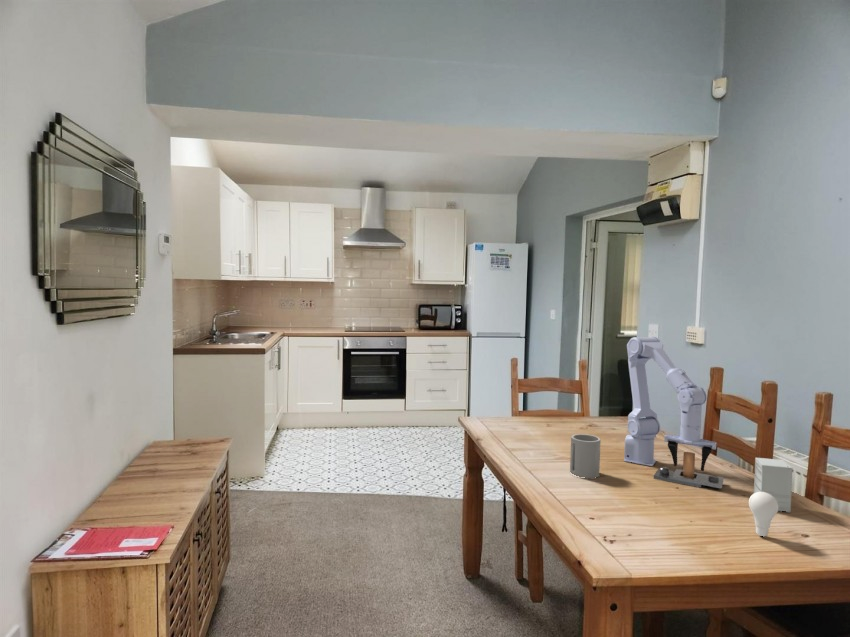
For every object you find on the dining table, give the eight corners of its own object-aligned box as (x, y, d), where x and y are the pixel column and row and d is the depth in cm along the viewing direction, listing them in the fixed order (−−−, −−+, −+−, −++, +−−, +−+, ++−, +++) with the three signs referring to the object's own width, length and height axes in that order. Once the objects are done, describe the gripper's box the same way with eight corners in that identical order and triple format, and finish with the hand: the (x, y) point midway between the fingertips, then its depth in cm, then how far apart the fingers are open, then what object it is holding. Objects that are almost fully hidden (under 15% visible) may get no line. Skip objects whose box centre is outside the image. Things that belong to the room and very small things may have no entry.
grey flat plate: (653, 478, 168) (654, 469, 168) (658, 471, 174) (658, 463, 174) (721, 491, 157) (721, 482, 157) (723, 483, 164) (723, 475, 164)
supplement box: (782, 503, 149) (784, 459, 149) (791, 513, 142) (793, 467, 142) (752, 499, 152) (754, 456, 151) (759, 509, 145) (762, 464, 144)
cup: (603, 474, 171) (605, 437, 171) (591, 481, 164) (592, 443, 164) (578, 467, 177) (579, 432, 177) (565, 473, 171) (566, 437, 170)
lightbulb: (741, 531, 131) (743, 488, 130) (764, 530, 131) (766, 487, 131) (758, 542, 125) (761, 497, 124) (782, 542, 125) (785, 497, 125)
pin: (681, 481, 166) (682, 453, 165) (683, 478, 168) (684, 451, 168) (692, 483, 164) (694, 455, 163) (694, 480, 166) (695, 453, 166)
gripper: (663, 424, 166) (661, 466, 166) (715, 431, 158) (713, 475, 158) (667, 419, 171) (665, 460, 172) (717, 426, 163) (715, 469, 164)
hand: (688, 467), depth 166 cm, fingers open, 7 cm apart
